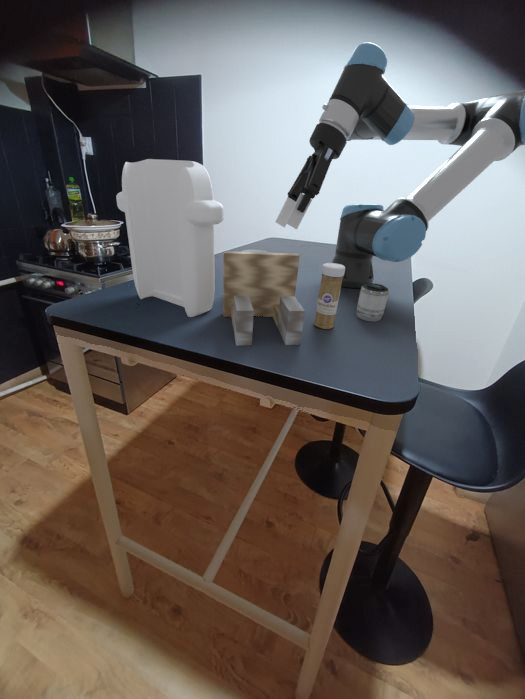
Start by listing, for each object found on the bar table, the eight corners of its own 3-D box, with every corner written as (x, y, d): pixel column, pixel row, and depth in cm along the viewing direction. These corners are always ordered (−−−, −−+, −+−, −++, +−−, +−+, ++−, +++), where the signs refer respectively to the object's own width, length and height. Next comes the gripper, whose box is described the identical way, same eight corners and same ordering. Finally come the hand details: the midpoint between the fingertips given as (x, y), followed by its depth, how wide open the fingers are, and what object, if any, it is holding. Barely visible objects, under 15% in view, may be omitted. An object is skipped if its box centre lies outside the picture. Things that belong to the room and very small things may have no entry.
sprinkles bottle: (314, 328, 69) (323, 266, 62) (313, 320, 73) (322, 261, 66) (335, 330, 68) (347, 268, 62) (333, 322, 72) (344, 263, 66)
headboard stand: (290, 313, 76) (297, 253, 69) (309, 344, 62) (319, 273, 55) (223, 313, 73) (223, 251, 66) (226, 345, 59) (227, 271, 52)
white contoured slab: (236, 310, 75) (240, 164, 61) (203, 324, 67) (199, 159, 53) (159, 285, 88) (148, 160, 74) (124, 294, 80) (103, 155, 66)
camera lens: (360, 310, 81) (367, 280, 77) (385, 316, 78) (393, 285, 74) (351, 317, 76) (358, 285, 72) (377, 324, 73) (385, 291, 69)
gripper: (303, 135, 79) (264, 217, 85) (338, 102, 56) (280, 217, 62) (328, 152, 81) (288, 231, 87) (371, 127, 58) (312, 236, 64)
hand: (285, 225), depth 74 cm, fingers open, 13 cm apart
